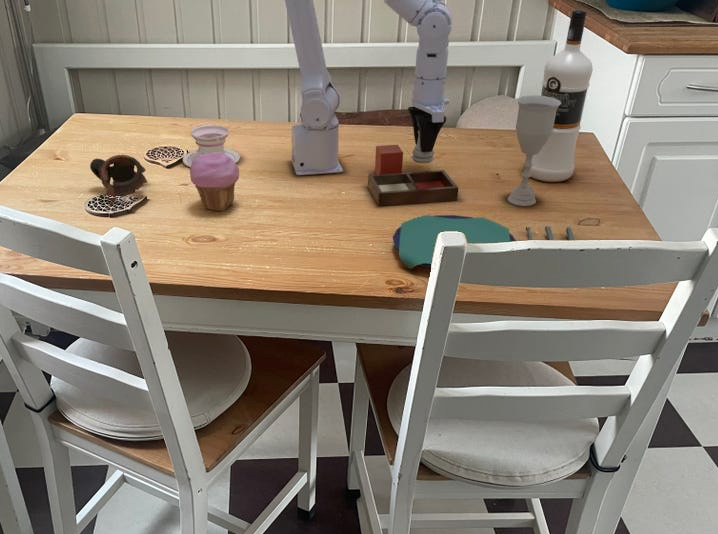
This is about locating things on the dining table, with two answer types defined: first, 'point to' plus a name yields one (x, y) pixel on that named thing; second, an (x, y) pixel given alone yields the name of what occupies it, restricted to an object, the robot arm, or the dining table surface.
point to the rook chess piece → (421, 154)
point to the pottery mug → (119, 175)
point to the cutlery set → (422, 231)
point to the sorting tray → (412, 187)
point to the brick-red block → (388, 159)
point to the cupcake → (214, 179)
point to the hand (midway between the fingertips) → (423, 148)
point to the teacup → (209, 143)
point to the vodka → (564, 105)
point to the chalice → (532, 138)
